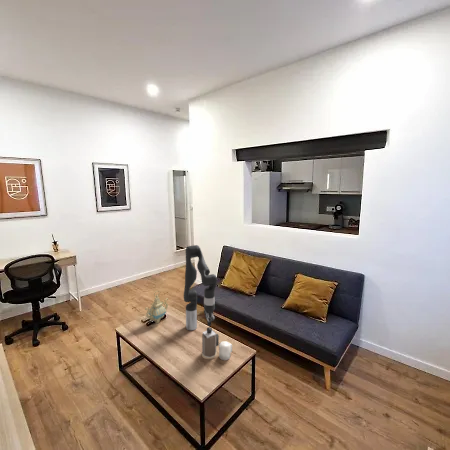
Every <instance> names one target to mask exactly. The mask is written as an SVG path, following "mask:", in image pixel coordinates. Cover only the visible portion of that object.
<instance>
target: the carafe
mask: <svg viewBox="0 0 450 450" xmlns="http://www.w3.org/2000/svg"><path fill="white" fill-rule="evenodd" d="M219 335H220V334H219V333H217V332H215V330H213V329H212V333H210V334H209V333H207V330H205V331H202V335H201V341H202V342H201V345H202V346H201V347H202V348H201V356H202V357H201V358H204V359H206V360H213V359H214V358H216V357H218V351H217V347H219V344H220V341H219V340H220V338H219Z"/></svg>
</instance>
